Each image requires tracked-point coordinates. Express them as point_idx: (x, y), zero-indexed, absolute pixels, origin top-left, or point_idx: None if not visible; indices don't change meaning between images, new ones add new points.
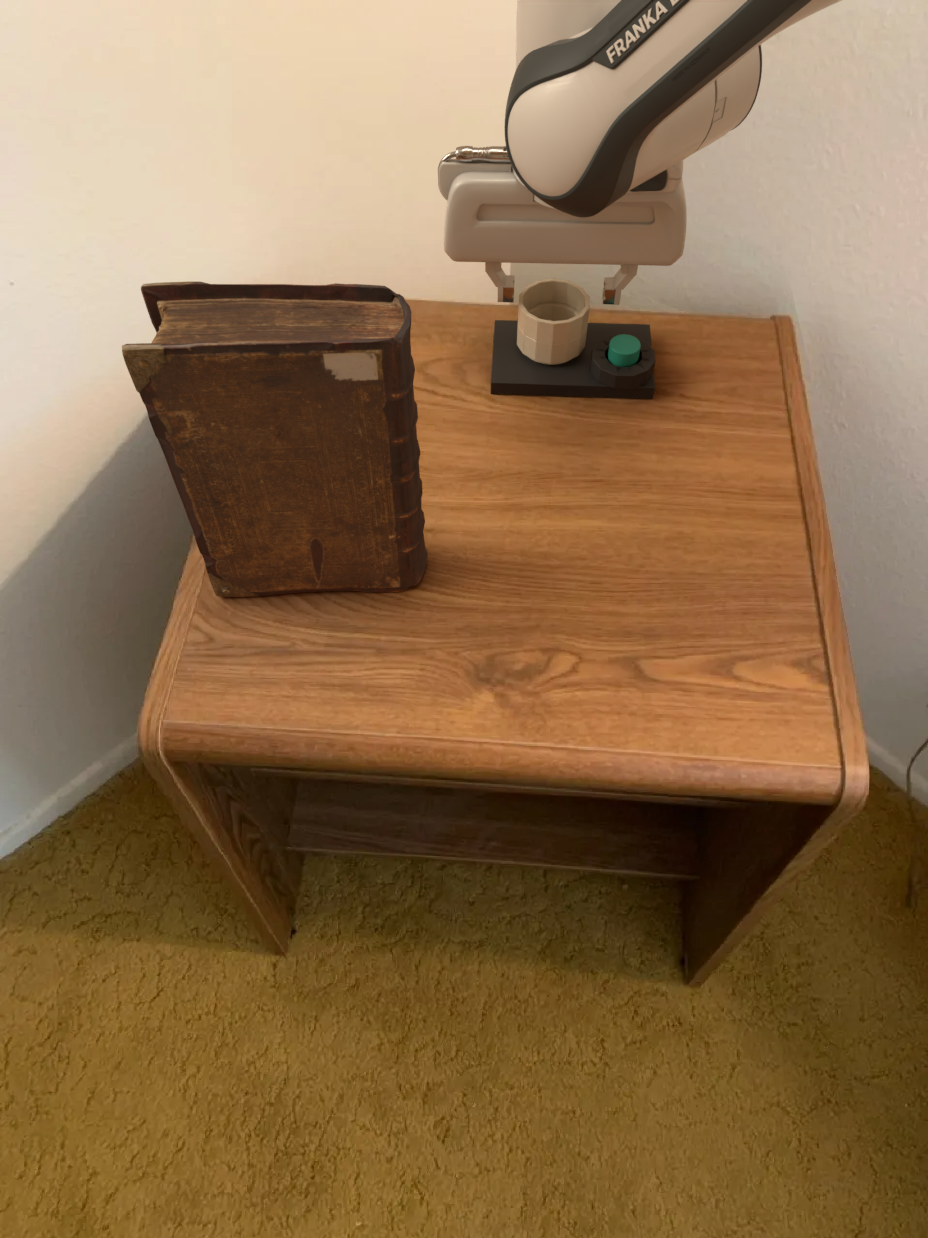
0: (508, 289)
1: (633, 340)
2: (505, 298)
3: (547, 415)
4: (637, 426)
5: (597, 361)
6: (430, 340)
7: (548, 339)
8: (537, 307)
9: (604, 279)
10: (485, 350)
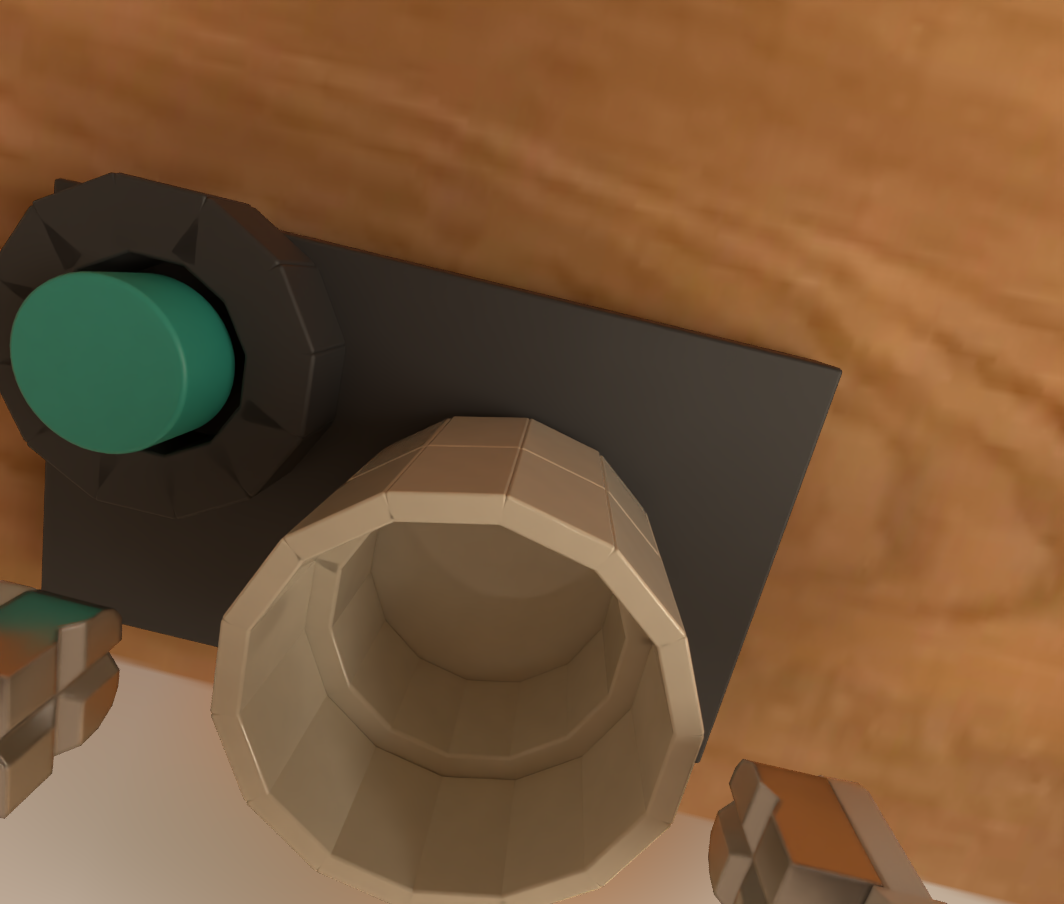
0: (832, 856)
1: (48, 388)
2: (820, 791)
3: (597, 169)
4: (198, 11)
5: (291, 329)
6: (962, 727)
7: (542, 467)
8: (532, 749)
9: (11, 796)
10: (756, 628)
